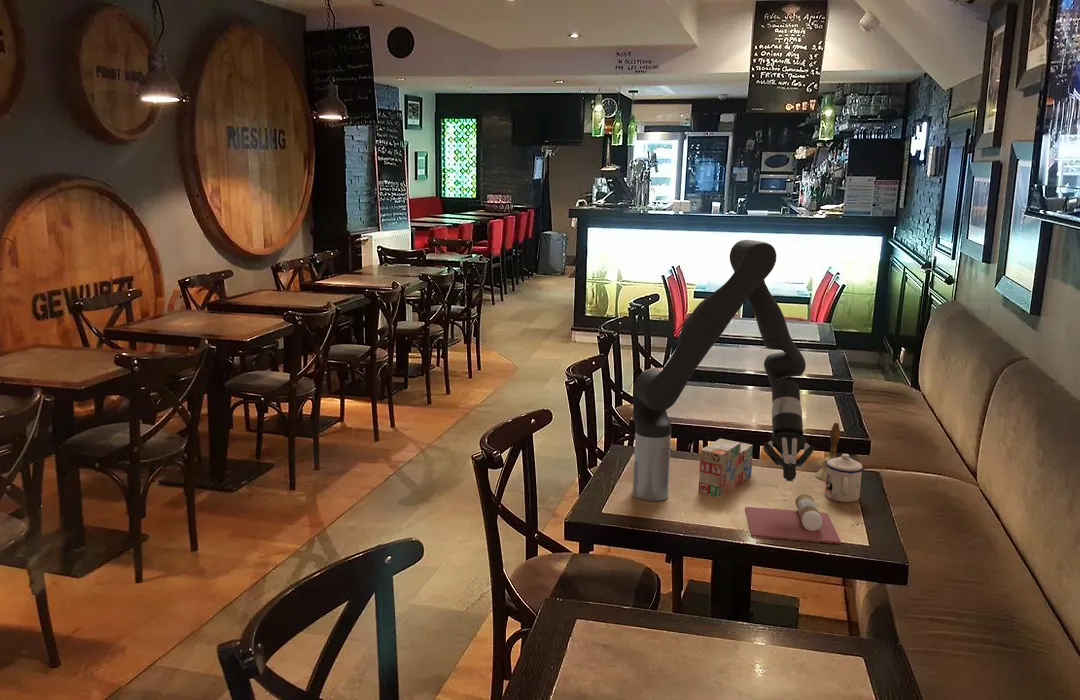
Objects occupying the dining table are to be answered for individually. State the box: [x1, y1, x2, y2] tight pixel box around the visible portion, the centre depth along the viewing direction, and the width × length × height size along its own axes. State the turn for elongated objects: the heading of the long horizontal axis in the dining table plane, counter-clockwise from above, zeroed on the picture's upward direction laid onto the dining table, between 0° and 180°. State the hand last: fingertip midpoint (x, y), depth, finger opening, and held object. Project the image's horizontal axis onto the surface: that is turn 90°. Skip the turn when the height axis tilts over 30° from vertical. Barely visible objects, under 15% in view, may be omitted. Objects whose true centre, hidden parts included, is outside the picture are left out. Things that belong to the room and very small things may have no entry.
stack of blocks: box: [698, 438, 754, 498], centre depth 221 cm, size 21×6×12 cm, turn 143°
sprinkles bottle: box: [795, 493, 822, 531], centre depth 196 cm, size 5×5×14 cm
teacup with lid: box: [824, 453, 864, 503], centre depth 211 cm, size 12×9×12 cm
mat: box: [744, 506, 842, 545], centre depth 194 cm, size 20×17×1 cm
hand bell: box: [815, 422, 841, 482], centre depth 226 cm, size 8×8×16 cm
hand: (790, 479), depth 198 cm, fingers closed
